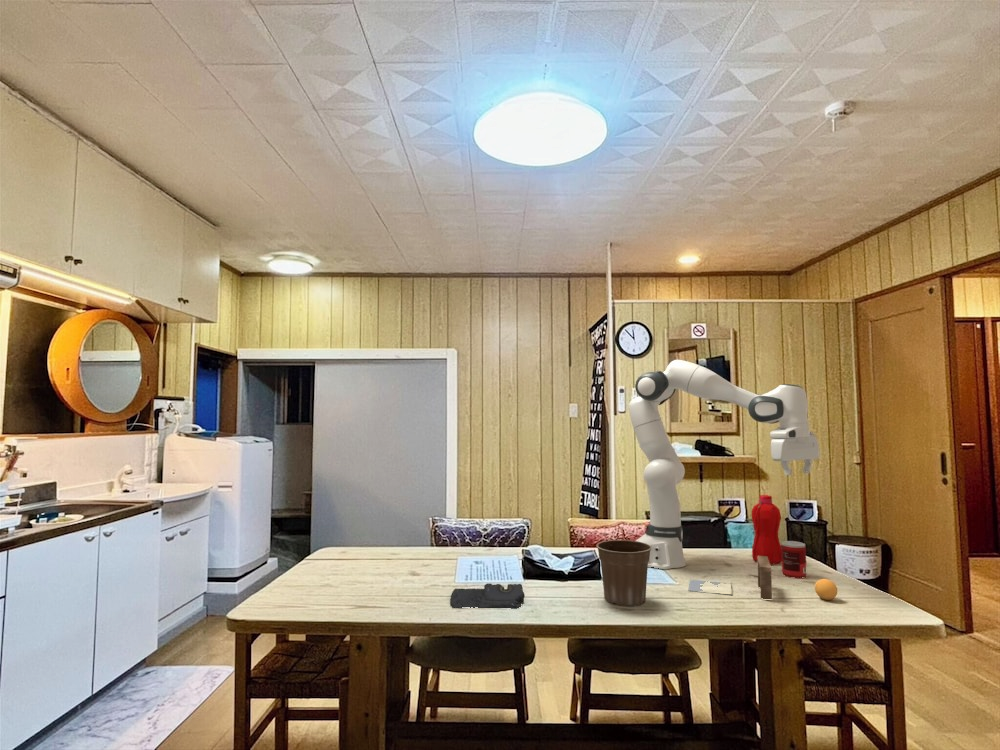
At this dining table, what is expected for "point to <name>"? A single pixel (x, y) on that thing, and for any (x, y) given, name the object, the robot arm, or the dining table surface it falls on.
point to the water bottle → (766, 530)
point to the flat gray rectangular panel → (695, 585)
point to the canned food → (793, 559)
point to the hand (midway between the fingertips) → (797, 473)
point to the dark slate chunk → (489, 597)
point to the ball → (826, 589)
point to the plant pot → (624, 571)
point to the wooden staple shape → (764, 577)
